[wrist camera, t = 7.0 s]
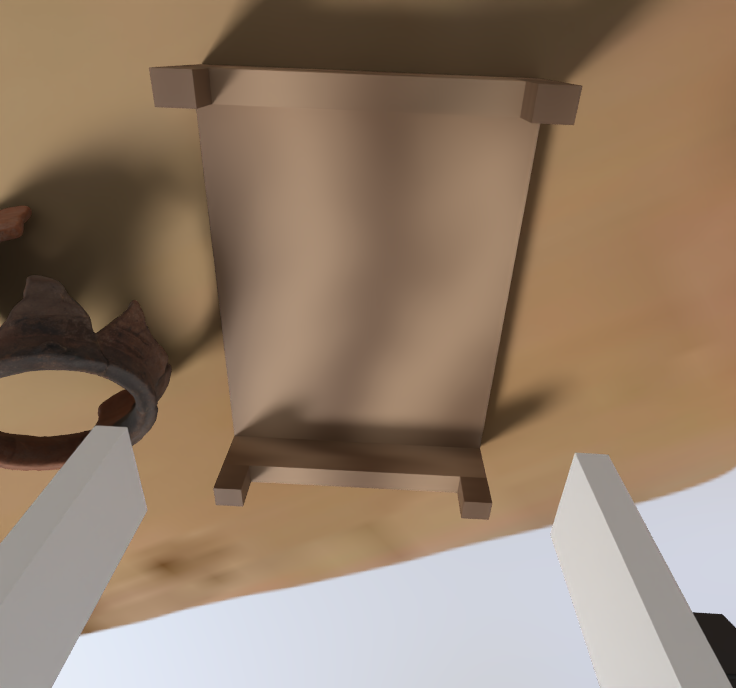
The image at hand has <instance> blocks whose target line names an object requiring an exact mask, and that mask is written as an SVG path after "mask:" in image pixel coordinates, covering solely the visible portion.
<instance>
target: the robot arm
mask: <svg viewBox="0 0 736 688" xmlns="http://www.w3.org/2000/svg"><path fill="white" fill-rule="evenodd" d="M146 512H147V506H146V502H145V498H144V494H143V490H142V486H141V482H140V477H139V473H138V469H137V465H136V461H135V457H134V453H133V449H132V445H131V441H130V437H129V433H128V428H127V427H113V426H95V427H94V428H93V429H92V430H91V432H90V433H89V434H88V435H87V437H86V438H85V439H84V440H83V442H82V443H81V444H80V445H79V447H78V448H77V449H76V450H75V452H74V453H73V454H72V455H71V456H70V458H69V459H68V460H67V461H66V463H65V464H64V465H63V466H62V468H61V469H60V470H59V471H58V473H57V474H56V475H55V476H54V478H53V479H52V480H51V481H50V483H49V484H48V485H47V486H46V488H45V489H44V490H43V491H42V493H41V494H40V495H39V496H38V498H37V499H36V500H35V501H34V503H33V504H32V505H31V506H30V508H29V509H28V510H27V511H26V513H25V514H24V515H23V516H22V518H21V519H20V520H19V521H18V522H17V524H16V525H15V526H14V527H13V529H12V530H11V531H10V532H9V534H8V535H7V536H6V537H5V539H4V540H3V541H2V542H1V544H0V688H52V686H53V684H54V682H55V680H56V678H57V677H58V675H59V673H60V671H61V669H62V667H63V665H64V664H65V662H66V660H67V658H68V656H69V654H70V653H71V651H72V649H73V647H74V645H75V643H76V641H77V639H78V638H79V636H80V634H81V632H82V630H83V628H84V627H85V625H86V623H87V621H88V619H89V617H90V615H91V614H92V612H93V610H94V608H95V606H96V604H97V603H98V601H99V599H100V597H101V595H102V593H103V591H104V590H105V588H106V586H107V584H108V582H109V580H110V578H111V577H112V575H113V573H114V571H115V569H116V567H117V565H118V564H119V562H120V560H121V558H122V556H123V554H124V553H125V551H126V549H127V547H128V545H129V543H130V541H131V540H132V538H133V536H134V534H135V532H136V530H137V528H138V527H139V525H140V523H141V521H142V519H143V517H144V516H145V514H146ZM550 535H551V538H552V541H553V544H554V547H555V550H556V553H557V557H558V560H559V563H560V566H561V569H562V572H563V575H564V578H565V581H566V584H567V587H568V590H569V593H570V597H571V599H572V603H573V606H574V608H575V612H576V615H577V618H578V621H579V624H580V627H581V630H582V633H583V636H584V640H585V643H586V645H587V649H588V652H589V655H590V658H591V661H592V664H593V667H594V670H595V673H596V676H597V680H598V683H599V686H600V688H736V628H735V627H734V626H733V625H732V624H731V623H730V622H729V621H728V619H727V618H726V617H725V616H724V615H722V614H710V613H695V612H692V611H691V609H690V607H689V605H688V603H687V602H686V600H685V598H684V596H683V594H682V592H681V590H680V588H679V586H678V585H677V583H676V581H675V579H674V577H673V575H672V573H671V571H670V570H669V568H668V566H667V564H666V562H665V560H664V558H663V556H662V555H661V553H660V551H659V549H658V547H657V545H656V543H655V541H654V540H653V538H652V536H651V534H650V532H649V530H648V528H647V526H646V525H645V523H644V521H643V519H642V517H641V515H640V513H639V511H638V510H637V508H636V506H635V504H634V502H633V500H632V498H631V497H630V495H629V493H628V491H627V489H626V487H625V485H624V483H623V482H622V480H621V478H620V476H619V474H618V472H617V470H616V468H615V467H614V465H613V463H612V461H611V459H610V457H609V455H605V454H588V453H575V455H574V458H573V461H572V464H571V468H570V471H569V474H568V478H567V481H566V484H565V487H564V491H563V494H562V497H561V501H560V504H559V507H558V510H557V514H556V517H555V520H554V524H553V527H552V530H551V533H550Z"/></svg>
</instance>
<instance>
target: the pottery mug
mask: <svg viewBox="0 0 736 688" xmlns="http://www.w3.org/2000/svg"><path fill="white" fill-rule="evenodd" d="M31 214H32V211H31V209H30V208H29V207H27V206H16V207H9V208H5V209H2V210H0V242H3V241H7V240H11V239H16V238H19V237H21V236H22V234H23V230H24V223H25V222H26V221H27V220H28V219H29V218H30V216H31ZM23 295H24V298H23V299H22V300H21V301H20V302H18V303H17V304H16V305H15V306H14V308H13V309H12V310H11V312H10V314H9V316H8V318H7V320H6V321H5V322H4V323H3V325H2V326H1V327H0V378H2V377H6V376H10V375H14V374H19V373H23V372H29V371H38V370H69V371H80V372H86V373H90V374H96V375H98V376H102V377H104V378H106V379H109V380H111V381H113V382H115V383H117V384H118V385H120V386H122V387H123V388H125V389H126V390H122V391H120V392H119V393H117V394H115V395H113V396H112V397H110V398H109V399H107V400H106V401H104V402H103V403H102V404H101V405H100V406H99V408H98V416H99V418H98V422H97V423H96V425H95V426H113V427H127V428H128V433H129V437H130V441H131V445H132V446H133V445H134V444H136V443H137V442H138V441H140V440H141V439H142V438H143V436H144V435H145V434H146V433H147V432H148V431H149V430H150V429H151V428H152V426H153V425H154V422H155V421H156V418H157V413H158V407H157V404H158V401H159V399H160V398H161V397H162V395H163V394H164V392H165V390H166V388H167V386H168V384H169V381H170V376H171V370H172V368H171V365H170V364H168V363H167V362H168V355H167V353H166V352H165V350H164V349H163V348H162V347H161V346H160V345H159V344H158V343H157V341H156V340H155V339H154V338H153V336H152V335H151V333H150V331H149V329H148V326H147V325H146V322H145V316H144V314H143V311H142V309H141V307H140V305H139V303H138V302H137V301H136V300H133V301H132V302H131V303H130V305H129V307H128V308H127V310H126V311H124V312H123V314H122V315H120V316H119V317H117V318H116V319H114V320H113V321H112V322H111V323H110V324H108V325H107V326H105V327H104V328H103V329H101V330H100V331H99V332H97V333H94V332H93V329H92V324H91V319H90V317H89V315H88V314H87V312H86V311H85V310H84V309H83V308H82V307H81V306H80V305H79V304H78V303H77V302H76V301H75V300H74V299H73V298H71V297H70V296H69V295H68V293H67V291H66V289H65V288H64V286H63V285H62V284H61V283H60V282H59V281H57V280H55V279H52V278H48V277H44V276H40V275H31V276H28V278H27V279H26V287H25V289H24V294H23ZM95 426H94V427H95ZM90 432H91V430H89V431H84V432H80V433H75V434H68V435H59V436H51V437H47V436H44V437H37V436H29V435H17V434H9V433H4V432H1V431H0V468H5V469H11V470H23V471H28V470H37V471H41V470H56V469H61V468H62V466H63V465H64V464H65V463H66V461H67V460H68V459H69V458H70V456H71V455H72V454H73V453H74V452H75V450H76V449H77V448H78V447H79V445H80V444H81V443H82V442H83V440H84V439H85V438H86V437H87V435H88V434H89V433H90Z"/></svg>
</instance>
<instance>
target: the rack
mask: <svg viewBox="0 0 736 688" xmlns="http://www.w3.org/2000/svg"><path fill="white" fill-rule="evenodd" d="M149 71H150V77H151V84H152V90H153V97H154V103H155V107H167V108H190V109H196V111H197V119H198V128H199V136H200V145H201V153H202V162H203V170H204V179H205V187H206V196H207V204H208V213H209V222H210V230H211V239H212V247H213V256H214V264H215V273H216V281H217V290H218V298H219V307H220V315H221V324H222V333H223V341H224V350H225V358H226V367H227V375H228V384H229V392H230V401H231V409H232V418H233V426H234V435H235V436H234V439H233V441H232V443H231V446H230V448H229V451H228V453H227V456H226V458H225V461H224V463H223V466H222V468H221V471H220V473H219V476H218V478H217V481H216V483H215V486H214V488H213V489H214V496H215V502H216V505H227V506H243V505H244V502H245V499H246V496H247V492H248V489H249V486H250V483H251V482H266V483H285V484H304V485H322V486H341V487H360V488H379V489H398V490H416V491H435V492H454V493H458V500H459V506H460V513H461V518H468V519H487V520H489V516H490V512H491V507H492V500H491V495H490V491H489V486H488V482H487V478H486V473H485V469H484V465H483V460H482V456H481V451H480V445H481V440H482V434H483V429H484V424H485V418H486V413H487V407H488V402H489V397H490V391H491V386H492V381H493V375H494V370H495V364H496V359H497V354H498V348H499V343H500V337H501V332H502V327H503V321H504V316H505V310H506V305H507V300H508V294H509V289H510V284H511V278H512V273H513V267H514V262H515V257H516V251H517V246H518V240H519V235H520V230H521V224H522V219H523V214H524V208H525V203H526V197H527V192H528V187H529V181H530V176H531V170H532V165H533V160H534V154H535V149H536V144H537V138H538V133H539V127H540V124H561V125H574V122H575V118H576V113H577V109H578V104H579V99H580V95H581V90H582V86H581V85H575V84H569V83H563V82H557V81H552V80H546V79H539V78H515V77H491V76H467V75H443V74H419V73H395V72H371V71H348V70H324V69H300V68H276V67H252V66H228V65H204V64H198V65H182V66H167V67H151V68H149Z"/></svg>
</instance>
